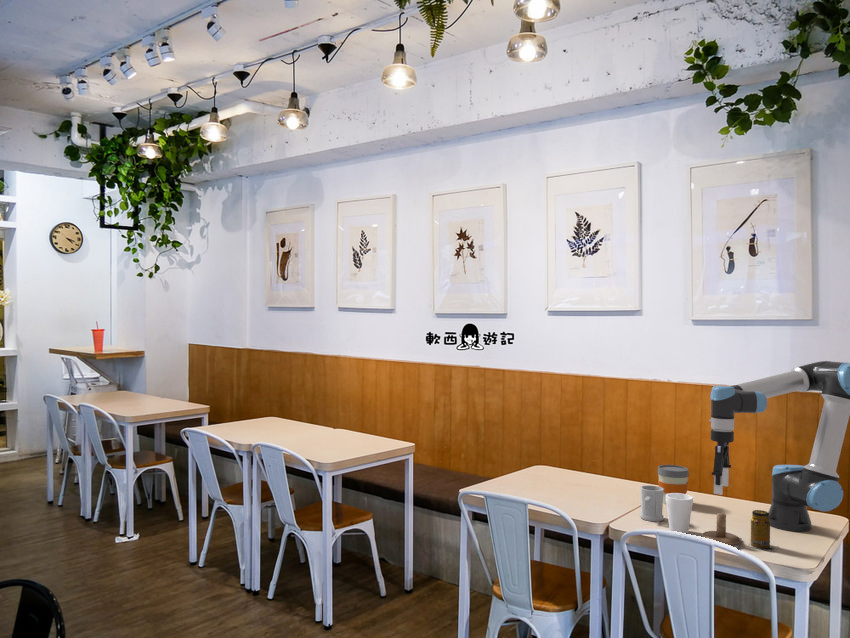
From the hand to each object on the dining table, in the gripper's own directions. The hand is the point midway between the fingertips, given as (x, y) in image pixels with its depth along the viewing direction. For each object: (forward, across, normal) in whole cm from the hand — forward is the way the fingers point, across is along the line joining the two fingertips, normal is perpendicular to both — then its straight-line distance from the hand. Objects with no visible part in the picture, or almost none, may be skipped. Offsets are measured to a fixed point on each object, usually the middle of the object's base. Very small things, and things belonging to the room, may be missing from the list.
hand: (721, 489), depth 238 cm
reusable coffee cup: (+19, -42, -25) cm, 52 cm away
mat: (+18, 0, 0) cm, 18 cm away
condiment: (+19, -3, +13) cm, 23 cm away
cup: (+19, -14, -27) cm, 36 cm away
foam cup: (+19, -4, -15) cm, 24 cm away
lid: (+18, 0, 0) cm, 18 cm away
